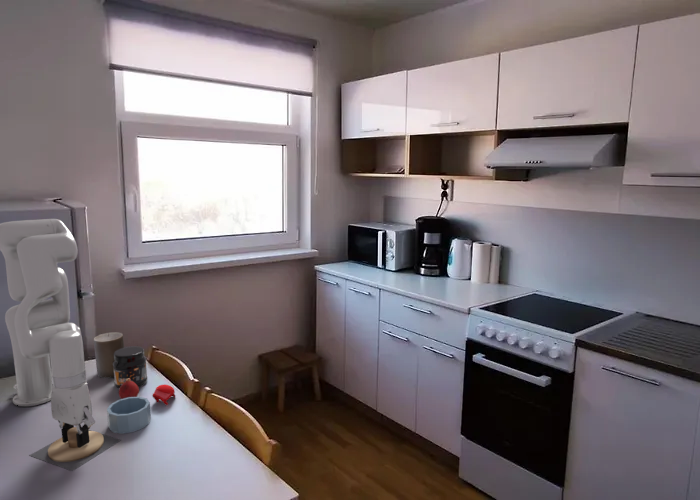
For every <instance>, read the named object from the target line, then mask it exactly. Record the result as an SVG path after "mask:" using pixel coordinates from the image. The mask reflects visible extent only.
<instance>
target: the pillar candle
mask: <svg viewBox="0 0 700 500" xmlns="http://www.w3.org/2000/svg"><path fill="white" fill-rule="evenodd" d="M124 343H125V342H124V335H123V332H115V331H114V332H106V333H102V334H101V333H100V334H98V335H97V336H95V337H94V338H93V345H94V346H93V347H94V355H95V363H96V364H95V365H96V375H97V376H98V378H105V379H107V378H108V379H109V378H114V369H113V361H114V352H115V351H116V350H118V349H121V348H124V347H125V344H124Z"/></svg>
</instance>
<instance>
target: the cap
mask: <svg viewBox="0 0 700 500" xmlns="http://www.w3.org/2000/svg"><path fill="white" fill-rule="evenodd" d="M175 393H176V391H175V389H174V387H173V386H171V385H169V384H160V385H157V387H155V390H154V392H153V393H152V395H151V396H152V398H153V399H154V400H155V402H156V403H160V402H162V403H163V404H164V405H165V406H168V405H169V403H168V400H169V399H171V398H176V396H177V395H176V394H175Z"/></svg>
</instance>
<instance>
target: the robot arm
mask: <svg viewBox="0 0 700 500" xmlns="http://www.w3.org/2000/svg"><path fill="white" fill-rule="evenodd" d="M78 249H79V248H78V244H77V242H76V239H75V237H74V236H73V234H72V231H70V230H69V229H68V227H67V226H66V224H65V223H64V222H63V221H62V220H61V219H57V218H43V219H42V218H41V219H26V220H25V219H24V220H12V221H5V222H0V252H1V253H2V256H3V258H4V261H5V269H6V270H5V272H6V279H7V289H8V294H9V296H10V298H11V299H12V300H13V301H14V302H15V301H16V302H20V303H19V304H16V305H13V306H11V307H10V308H8V309H7V310H6V312H5V315H4V321H5V324H6V328H7V331H8V334H9V337H10V341H11V348H12V356H13V364H14V371H15V380H16V383H15V384H14V385H13V389H15V390H16V391H17V392H16V395H14V396H13V398H12V403H13V405H15V406H17V405H18V406H17V407H33V406H37V405H42V404H46V403H48V402H50V404H51V405H50V407H51V416H52V419H54V420H56V421H57V422H58V423H59V425H58V427H59V428H60V429H61V438H62V441H63V443H66V442H68V435H67V431H68V430H69V429H71V428H73V427H74V426H75V427H76V428H77V431H78V433H77V434H76V438H77V447H78V448H81V447H82V446H84V445H86V444H87V443H89V441H90V440H89V430H90V429H91V427H92V426H93V425H95V424H96V420H95V418H94V416H93V406H92V400H91V394H90V390H89V387H88V383H87V374H86V373H87V372H86V364H85V354H84V351H85V350H84V343H83V337H82V331H81V328H80V326H78V325H77V324H75V323H74V322H70V320H71V309H70V308H71V307H70V306H71V305H70V290H69V281H68V280H69V279H68V277H67V274H66V272H65V271H64V269H62V268H61V267H59V265H58V264H61V263H67V262H73V261H75V260H76V259H77V258H78V252H79V251H78ZM81 424H83V425H82V426H81Z"/></svg>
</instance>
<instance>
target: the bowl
mask: <svg viewBox="0 0 700 500" xmlns="http://www.w3.org/2000/svg"><path fill="white" fill-rule="evenodd" d="M106 414H107V426H108V428H109V430H110V431H111V432H112V433H115V434H129V433H134V432H136V431H139V430H141V429H143V428H145V427H147V426H148V424H150V422H151V420H152V413H151V402H150V400H149V399H148V398H145V397H143V396H137V397H128V398H124V399H121V398H120V399H118V400H115V401H114V402H112V403H110V404H109V406H108V407H107V409H106Z"/></svg>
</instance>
